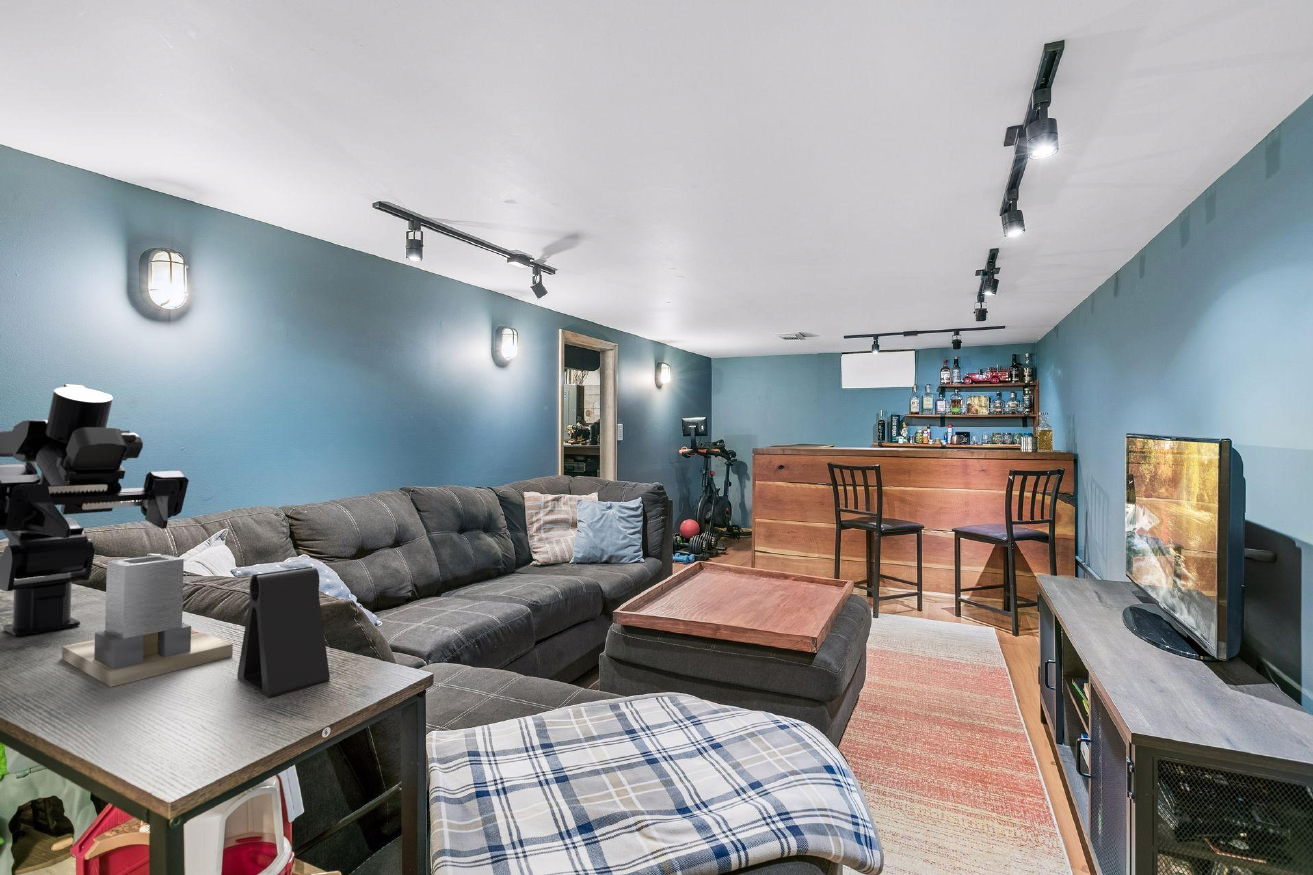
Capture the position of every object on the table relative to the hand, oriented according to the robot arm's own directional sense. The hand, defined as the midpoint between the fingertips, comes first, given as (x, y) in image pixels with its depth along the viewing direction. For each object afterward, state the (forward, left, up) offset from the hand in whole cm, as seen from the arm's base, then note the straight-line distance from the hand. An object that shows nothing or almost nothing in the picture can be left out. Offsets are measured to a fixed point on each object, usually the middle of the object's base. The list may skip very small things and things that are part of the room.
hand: (119, 529), depth 73 cm
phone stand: (+23, +8, -16) cm, 29 cm away
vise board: (+2, +2, -16) cm, 16 cm away
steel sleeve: (+6, +1, -11) cm, 13 cm away
